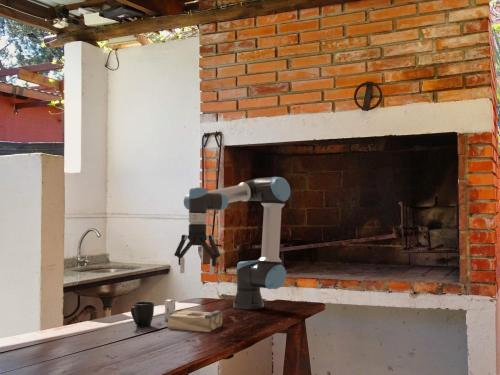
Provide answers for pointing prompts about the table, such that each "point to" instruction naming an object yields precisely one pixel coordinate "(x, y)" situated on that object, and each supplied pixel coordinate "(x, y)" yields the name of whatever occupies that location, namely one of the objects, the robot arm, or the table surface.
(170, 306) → the cylinder
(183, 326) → the block
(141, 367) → the table surface
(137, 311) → the mug
